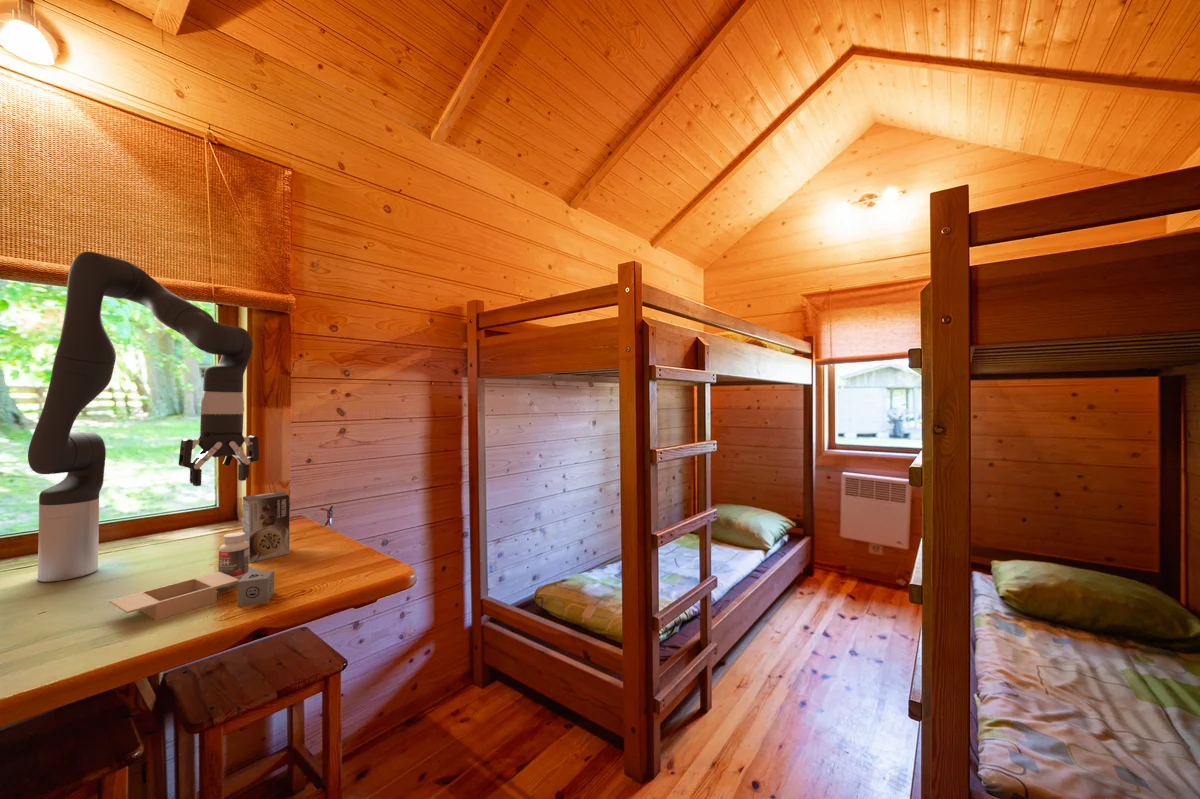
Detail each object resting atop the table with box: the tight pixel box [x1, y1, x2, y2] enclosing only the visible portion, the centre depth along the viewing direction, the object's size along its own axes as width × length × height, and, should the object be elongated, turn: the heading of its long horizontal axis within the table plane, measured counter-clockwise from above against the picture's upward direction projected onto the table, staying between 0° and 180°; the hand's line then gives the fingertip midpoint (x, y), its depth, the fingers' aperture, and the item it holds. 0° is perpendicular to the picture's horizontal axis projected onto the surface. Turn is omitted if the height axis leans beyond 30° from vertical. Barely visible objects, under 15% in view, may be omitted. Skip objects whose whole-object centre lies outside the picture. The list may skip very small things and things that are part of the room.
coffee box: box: [242, 491, 291, 563], centre depth 122 cm, size 9×6×16 cm
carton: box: [108, 571, 239, 621], centre depth 92 cm, size 9×17×3 cm, turn 151°
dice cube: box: [236, 569, 275, 607], centre depth 95 cm, size 5×5×5 cm
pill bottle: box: [218, 531, 250, 579], centre depth 105 cm, size 5×5×10 cm
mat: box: [217, 565, 262, 593], centre depth 105 cm, size 10×10×1 cm
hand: (220, 482), depth 105 cm, fingers open, 8 cm apart
